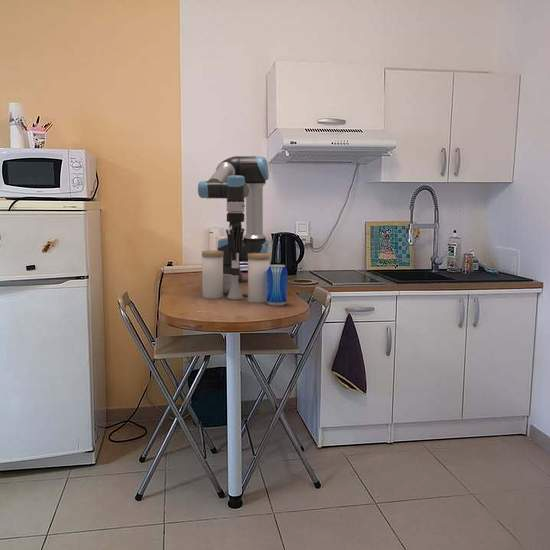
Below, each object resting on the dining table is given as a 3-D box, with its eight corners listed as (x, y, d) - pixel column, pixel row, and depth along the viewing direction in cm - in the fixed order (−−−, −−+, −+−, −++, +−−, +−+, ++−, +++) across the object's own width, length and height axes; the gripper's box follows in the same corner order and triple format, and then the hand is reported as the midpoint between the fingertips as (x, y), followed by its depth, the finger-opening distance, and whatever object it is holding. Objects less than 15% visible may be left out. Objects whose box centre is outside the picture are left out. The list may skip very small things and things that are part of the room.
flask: (229, 300, 230) (230, 277, 228) (224, 297, 236) (224, 275, 235) (245, 299, 233) (246, 276, 231) (240, 297, 239) (240, 274, 238)
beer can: (266, 302, 227) (267, 264, 225) (286, 302, 227) (287, 264, 225) (265, 305, 219) (266, 266, 217) (286, 306, 218) (287, 266, 216)
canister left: (208, 294, 245) (208, 250, 242) (227, 295, 241) (227, 251, 239) (197, 297, 236) (197, 251, 233) (217, 299, 232) (217, 252, 230)
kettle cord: (216, 294, 245) (216, 292, 245) (217, 293, 246) (217, 291, 246) (267, 298, 236) (267, 296, 235) (268, 298, 237) (268, 296, 236)
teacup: (228, 294, 245) (228, 277, 244) (205, 293, 247) (205, 276, 246) (237, 290, 258) (237, 273, 257) (215, 289, 260) (215, 272, 259)
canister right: (252, 298, 236) (253, 252, 234) (272, 299, 233) (273, 253, 230) (243, 301, 228) (243, 254, 225) (264, 303, 224) (264, 255, 222)
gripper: (236, 212, 222) (236, 269, 225) (250, 212, 234) (249, 266, 237) (220, 212, 225) (220, 268, 228) (234, 212, 237) (234, 265, 240)
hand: (235, 267), depth 233 cm, fingers closed
